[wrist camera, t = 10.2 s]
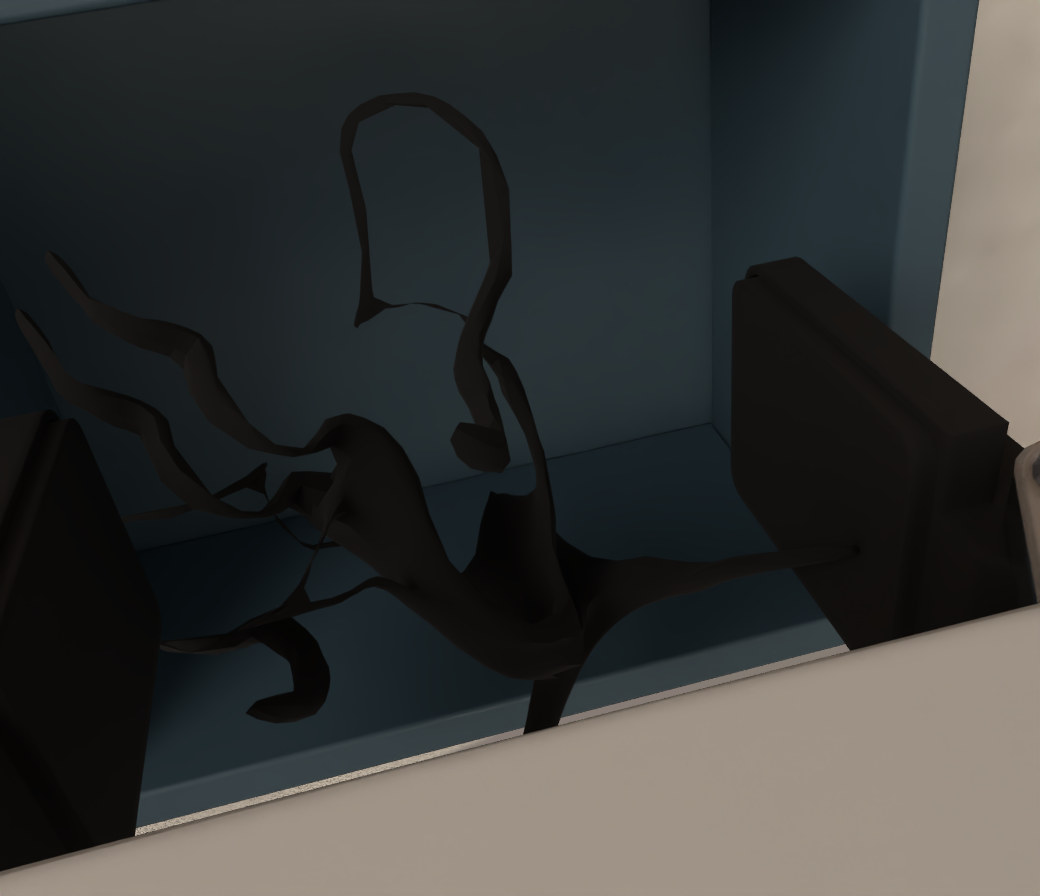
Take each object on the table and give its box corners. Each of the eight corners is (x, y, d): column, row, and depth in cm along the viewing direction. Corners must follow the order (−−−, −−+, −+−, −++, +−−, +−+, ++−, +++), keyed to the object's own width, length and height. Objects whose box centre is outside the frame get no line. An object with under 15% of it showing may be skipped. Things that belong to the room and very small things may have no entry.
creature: (-41, 487, 13) (457, 740, 15) (-350, 785, 8) (454, 1092, 10) (247, -54, 10) (793, 345, 13) (58, -102, 6) (1001, 562, 8)
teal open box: (105, 566, 20) (43, 855, 14) (-189, -64, 13) (-513, 9, 8) (730, 425, 21) (894, 633, 16) (734, -197, 15) (1012, -216, 9)
